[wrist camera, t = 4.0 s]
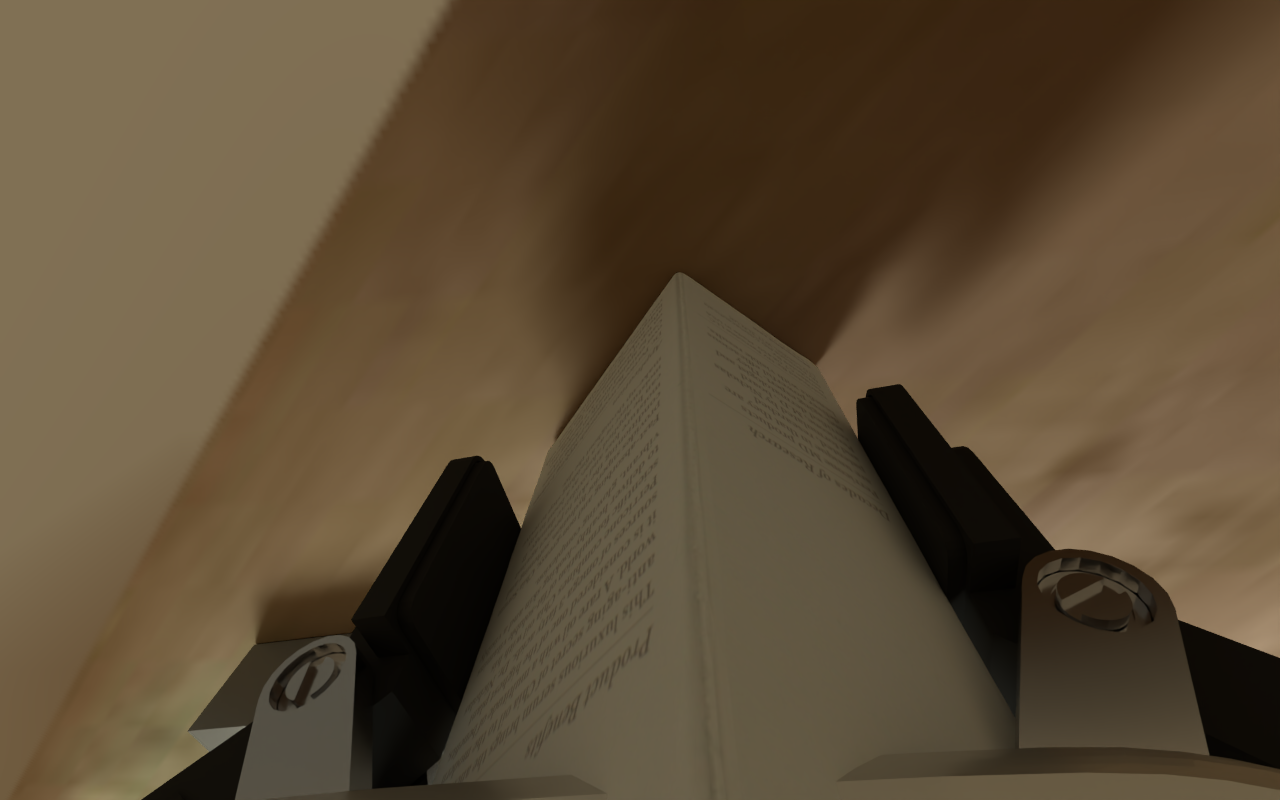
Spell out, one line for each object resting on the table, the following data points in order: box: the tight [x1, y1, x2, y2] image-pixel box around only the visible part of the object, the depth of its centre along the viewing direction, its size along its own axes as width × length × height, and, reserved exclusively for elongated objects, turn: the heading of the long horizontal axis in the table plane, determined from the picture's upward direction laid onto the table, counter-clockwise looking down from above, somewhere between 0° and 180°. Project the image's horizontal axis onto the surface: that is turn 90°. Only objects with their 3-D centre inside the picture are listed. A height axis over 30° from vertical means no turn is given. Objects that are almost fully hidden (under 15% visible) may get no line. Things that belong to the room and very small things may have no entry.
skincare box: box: [432, 272, 1015, 800], centre depth 8 cm, size 6×4×12 cm
